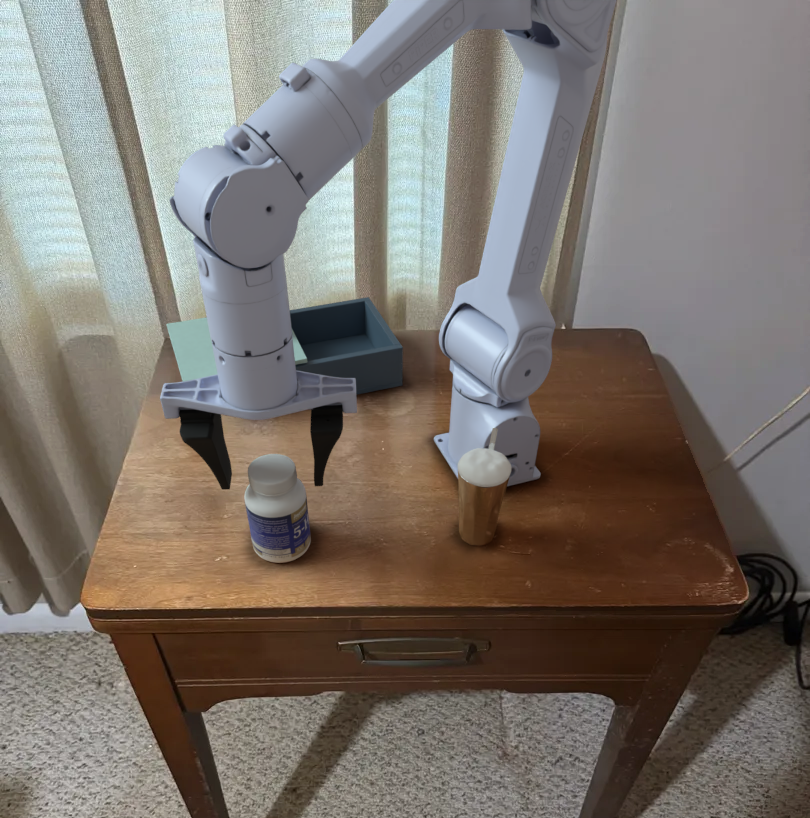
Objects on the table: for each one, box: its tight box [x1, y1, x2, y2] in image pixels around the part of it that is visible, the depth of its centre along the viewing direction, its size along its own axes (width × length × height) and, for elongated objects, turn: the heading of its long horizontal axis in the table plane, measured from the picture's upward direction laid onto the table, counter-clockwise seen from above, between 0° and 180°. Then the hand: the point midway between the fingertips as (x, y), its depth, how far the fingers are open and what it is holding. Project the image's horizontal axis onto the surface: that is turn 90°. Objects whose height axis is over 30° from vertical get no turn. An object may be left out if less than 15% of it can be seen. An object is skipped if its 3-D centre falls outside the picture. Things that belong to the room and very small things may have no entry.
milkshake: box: [457, 428, 511, 547], centre depth 67 cm, size 4×5×10 cm
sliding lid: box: [165, 316, 307, 382], centre depth 81 cm, size 12×13×5 cm
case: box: [290, 296, 404, 396], centre depth 87 cm, size 12×13×5 cm
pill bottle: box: [243, 453, 312, 564], centre depth 66 cm, size 5×5×9 cm
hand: (273, 480), depth 63 cm, fingers open, 7 cm apart
